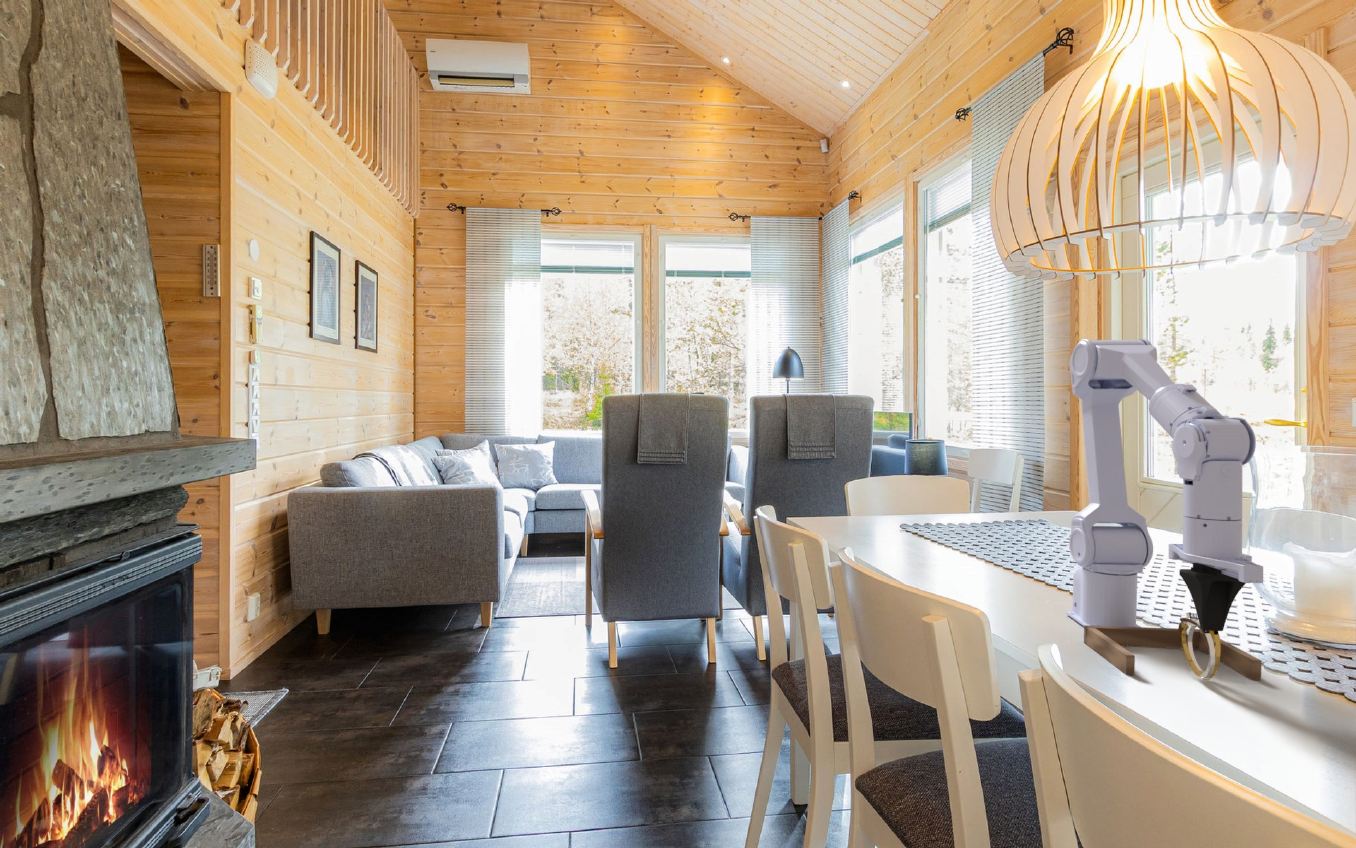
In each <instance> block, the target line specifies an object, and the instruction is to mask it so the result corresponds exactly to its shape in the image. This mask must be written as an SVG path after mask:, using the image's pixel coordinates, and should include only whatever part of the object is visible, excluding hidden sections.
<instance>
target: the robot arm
mask: <svg viewBox="0 0 1356 848" xmlns="http://www.w3.org/2000/svg"><path fill="white" fill-rule="evenodd" d="M1069 370H1070V380H1071V381H1070V382H1071V383H1070V384H1071V388H1072V395H1073V396H1075V397H1077V398H1078V399H1080V407H1081V409H1080V410H1081V420H1082V430H1083V431H1082V432H1083V443H1084V456H1085V467H1086V468H1085V469H1086V478H1087V480H1086V481H1087V489H1088V490H1087V491H1088V492H1087V493H1088V505H1087V506H1085V507H1083V508H1082V510H1080V511H1079V512H1078V513H1075V515H1074V516H1073V517H1071V522H1070V523H1071V525H1070V526H1071V529H1070V536H1069V541H1068V543H1069V544H1068V545H1069V550H1070V555H1071V557H1072V558H1073V560H1074V562H1075V563H1076V564H1077V565H1078V567H1077V569H1076V570H1075V571H1074V573H1073V577H1072V579H1073V581H1072V608H1071V609H1072V610H1067V611H1065V612H1066V615H1067V616H1068V617H1070V618H1071V619H1073V620H1074V621H1076V622H1077V623H1078V624H1079V625H1081V626H1082V627H1084V625H1088V626H1117V627H1141V625H1138V624H1137V606H1138V605H1137V604H1138V601H1137V599H1138V574H1139V573H1141V574H1142V573H1144V570H1143V569H1144V568H1145V567H1147V566H1148V565H1149V564H1150V562H1151V560H1152V558H1153V554H1154V544H1153V539H1152V537H1151V536H1150V533H1149V530H1148V526H1147V521H1146V517H1144V516H1143V515H1141V514H1140V513H1139V512H1138V511H1136V510H1135V509H1134V508H1132V507H1131V506H1130V505H1129V504H1128V502H1129V501H1128V494H1127V493H1128V492H1127V483H1126V472H1125V460H1124V459H1125V458H1124V450H1123V439H1122V429H1121V419H1120V408H1119V407H1120V406H1119V405H1120V403H1121V401H1122V400H1123V399H1124V398H1127V397H1130V396H1132V395H1133V394H1135V392H1136V391H1138V392H1139V393H1140V394H1141V395H1142V396H1144V397H1145V398H1146V399H1147V400H1149V404H1148V412H1149V414H1150V416H1151V417H1153V419H1154V420H1155V421H1156V422H1157V423H1158V425H1160V426H1161V428H1162V429H1163V430H1164V431H1166V433H1167V434H1168V435H1169V436H1170V437H1171V438H1172V440H1171V449H1172V450H1171V451H1172V454H1173V457H1174V458H1175V460H1176V464H1177V465H1176V466H1177V474H1178V477H1179V478H1180V479H1182V481H1183V482H1182V543H1169V544H1168V559H1170V560H1173V561H1174V560H1175V561H1176V560H1177V561H1181V562H1185V563H1188V564H1189V565H1190V564H1191V565H1192V566H1191V567H1190V568H1182V569H1179V570H1178V571H1179V576H1180V577H1181V578H1182V580H1183V582H1184V583H1185V586H1186V587H1187V589H1188V591H1189V593H1190V596H1191V598H1192V602H1193V604H1194V608H1195V611H1196V612H1195V613H1197V615H1198V619H1199V623H1200V626H1201V629H1203V630H1206V631H1218V632H1223V631H1224V628H1225V625H1226V622H1227V620H1228V619H1227V618H1228V615H1229V611H1230V610H1231V607H1232V605H1233V603H1234V601H1235V598H1236V597H1237V595H1238V594H1239V592H1240V591H1241V590H1242V588H1243V587H1244V586H1245V585H1246V584H1263V583H1264V566H1263V565H1260V564H1257V563H1255V562H1253V556H1252V555H1249V554H1246V553H1243V466H1244V465H1247V464H1248V463H1249V462H1250V461H1251V460H1252V459H1253V456H1254V455H1255V452H1256V447H1257V446H1256V445H1257V443H1256V442H1257V440H1256V436H1255V435H1256V434H1255V432H1254V429H1253V428H1252V426H1251V425H1250V424H1249V423H1248V421H1247V420H1246V419H1245V418H1243V417H1231V416H1229V415H1223V414H1221V413H1220V412H1219V411H1218V410H1217V409H1216V407H1214V406H1213V405H1212V404H1210V403H1209V401H1207V399H1205V398H1204V397H1203V396H1202V395H1201V394H1200V393H1199V392H1197V390H1198V389H1197V387H1195V386H1194V385H1193V384H1185V383H1175V382H1174V381H1173V379H1172V378H1171V377H1170V376H1169V375H1168V374H1167V373H1166V372H1165V370H1164V369H1163V368H1162V367H1161V366H1160V364H1159V363H1158V351H1157V348H1156V346H1155V345H1153V344H1152V342H1151V341H1149V340H1148V339H1145V338H1138V339H1098V340H1097V339H1096V340H1094V339H1092V340H1091V339H1088V338H1086V339H1085V338H1084V339H1081V340H1080V341H1078V343H1077V344H1076V345H1075V347H1074V349H1073V351H1072V354H1071V356H1070V358H1069ZM1096 524H1117V526H1111V525H1110V526H1109V525H1105V526H1104V525H1103V526H1102V525H1101V526H1100V525H1097V526H1096ZM1118 525H1119V526H1118Z"/></svg>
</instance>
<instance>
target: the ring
mask: <svg viewBox="0 0 1356 848" xmlns="http://www.w3.org/2000/svg"><path fill="white" fill-rule="evenodd" d="M1185 616H1186V617H1180V618H1179V621H1180V622H1179V624H1178V628H1177V629H1178V634H1179V640H1180V644H1181V647H1182V649H1181V651H1182V653H1183V655H1184V658H1185V661H1186V662H1187V664H1188V666H1189V668H1190V669H1191V671H1192V672H1193V673H1194V675H1195V676H1196V677H1197V678H1198V679H1199V680H1200V681H1211V679H1212V678H1214V677H1215V676H1216V674H1217V673H1218V669H1219V667H1220V663H1221V662H1220V652H1221V646H1220V639H1221V638H1220V633H1219V631H1206V630H1203V629H1201V626H1200V623H1199V619H1198V615H1197V612H1195V613H1194V612H1192V613H1191V612H1186V613H1185ZM1196 628H1198V629H1200V630H1201V631H1202V633H1203V635H1204V637H1205V639H1206V642H1207V646H1208V651H1209V655H1208V663H1207V666H1206V667H1207V668H1206V669H1205V670H1203V669H1202V668H1201V667H1200V665H1199V664H1198V663H1199V662H1197V660H1196V656H1195V653H1194V649H1193V647H1192V636H1193V632H1194V630H1195V629H1196Z"/></svg>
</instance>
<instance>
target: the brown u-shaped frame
mask: <svg viewBox="0 0 1356 848" xmlns="http://www.w3.org/2000/svg"><path fill="white" fill-rule="evenodd" d="M1083 628H1084V630H1083V643H1084V644H1085V645H1087V646H1088V647H1089V648H1090V649H1092V650H1093V651H1095V652H1096V653H1097V654H1099V656H1100V657H1102V658H1104V659H1105V660H1106V661H1107V662H1109V663H1110V664H1111V665H1113V666H1114V667H1115V668H1117V669H1118V670H1119V671H1121V672H1122V673H1123V674H1124V675H1128V676H1135V669H1136V668H1135V665H1136V664H1135V663H1136V655H1135V654H1134V653H1132V652H1130V651H1129V650H1127V649H1126V648H1125V647H1132V648H1134V647H1135V648H1154V649H1155V648H1156V649H1157V648H1158V649H1162V648H1163V649H1181V650H1182V647H1181V644H1180V640H1179V634H1178V628H1170V627H1142V626H1140V627H1117V626H1088V625H1084V626H1083ZM1220 646H1221V652H1220V662H1219V663H1222V664H1223V665H1225V666H1227V667H1229V668H1230V669H1233V670H1234V671H1235V672H1238V673H1240V674H1242V675H1243V676H1245V677H1246V678H1248V679H1250V680H1251V681H1262V659H1259V658H1258V657H1256V656H1253V655H1252V654H1250V653H1248V652H1246V651H1244V650H1242V649H1240V648H1238V647H1237V646H1234V645H1233V644H1231V643H1229V642H1227V641H1225V640H1223V639H1221V638H1220ZM1192 647H1193V650H1200V651H1202V652H1203V653H1205V654H1207V655H1208V656H1209V651H1208V646H1207V642H1206V639H1205V637H1204V635H1203V633H1202V631H1201V630H1200V629H1199V628H1198V629H1196V628H1195V630H1194V632H1193V636H1192Z"/></svg>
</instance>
